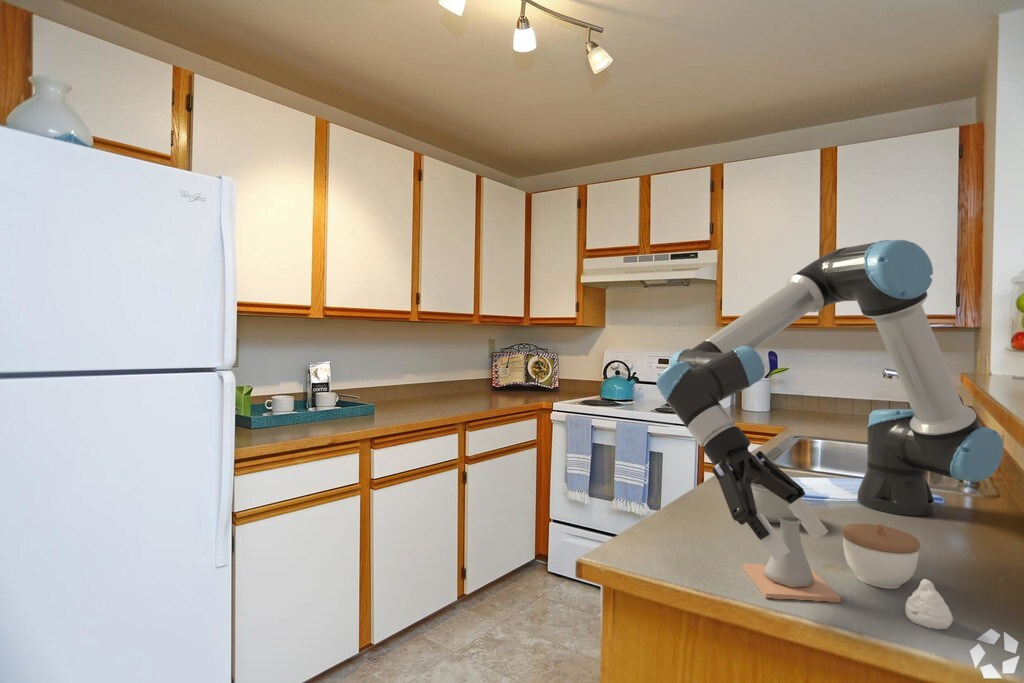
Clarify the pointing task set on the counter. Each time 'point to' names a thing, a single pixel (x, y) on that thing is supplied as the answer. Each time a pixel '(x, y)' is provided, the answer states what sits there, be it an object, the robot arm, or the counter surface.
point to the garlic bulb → (928, 607)
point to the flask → (790, 557)
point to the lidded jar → (880, 554)
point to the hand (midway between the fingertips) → (803, 545)
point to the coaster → (780, 591)
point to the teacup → (769, 504)
